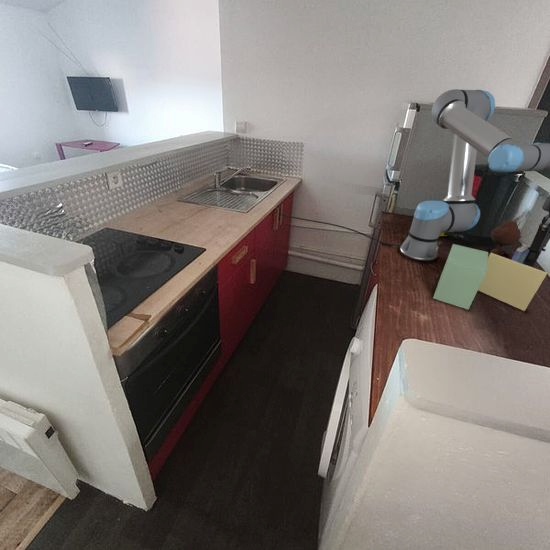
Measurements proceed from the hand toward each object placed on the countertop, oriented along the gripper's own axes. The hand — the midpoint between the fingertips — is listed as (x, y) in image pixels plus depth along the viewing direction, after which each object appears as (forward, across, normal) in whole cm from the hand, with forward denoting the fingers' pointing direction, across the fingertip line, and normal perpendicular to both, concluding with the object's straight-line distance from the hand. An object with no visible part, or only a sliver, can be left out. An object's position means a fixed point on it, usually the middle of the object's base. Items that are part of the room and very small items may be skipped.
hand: (526, 267), depth 99 cm
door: (+12, -3, +2) cm, 12 cm away
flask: (+12, +26, +8) cm, 29 cm away
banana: (+12, +30, +42) cm, 53 cm away
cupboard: (+12, -15, +13) cm, 24 cm away
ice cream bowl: (+12, +35, +18) cm, 41 cm away
